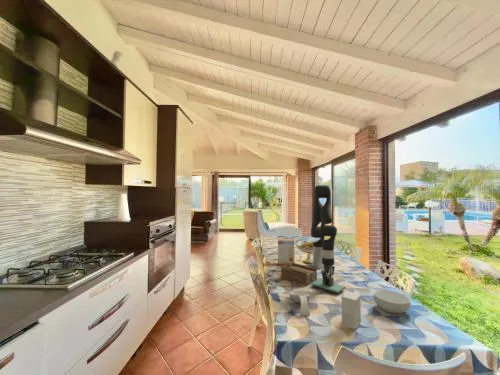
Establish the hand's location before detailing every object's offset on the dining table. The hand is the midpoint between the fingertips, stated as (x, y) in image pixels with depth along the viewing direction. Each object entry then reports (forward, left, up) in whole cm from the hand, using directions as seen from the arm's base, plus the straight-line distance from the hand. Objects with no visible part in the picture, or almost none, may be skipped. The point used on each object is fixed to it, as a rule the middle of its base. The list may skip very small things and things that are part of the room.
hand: (328, 283), depth 151 cm
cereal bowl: (+1, +36, -3) cm, 36 cm away
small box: (+30, +27, -3) cm, 41 cm away
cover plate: (0, 0, -2) cm, 2 cm away
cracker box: (-24, -51, -3) cm, 56 cm away
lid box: (0, -22, -3) cm, 22 cm away
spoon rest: (+31, 0, -4) cm, 31 cm away
